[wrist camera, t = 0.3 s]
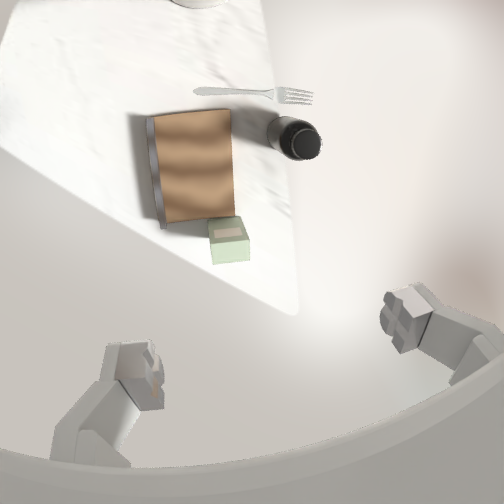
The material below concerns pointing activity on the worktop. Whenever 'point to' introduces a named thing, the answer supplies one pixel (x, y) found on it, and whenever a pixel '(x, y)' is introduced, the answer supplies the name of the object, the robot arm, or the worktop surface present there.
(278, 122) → the supplement bottle
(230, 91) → the fork
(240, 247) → the carton
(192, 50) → the worktop surface
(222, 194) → the shelf board
